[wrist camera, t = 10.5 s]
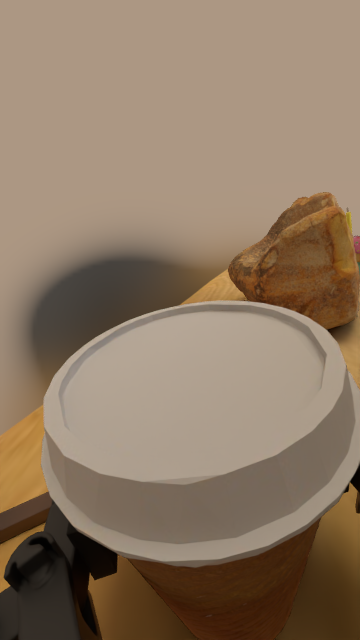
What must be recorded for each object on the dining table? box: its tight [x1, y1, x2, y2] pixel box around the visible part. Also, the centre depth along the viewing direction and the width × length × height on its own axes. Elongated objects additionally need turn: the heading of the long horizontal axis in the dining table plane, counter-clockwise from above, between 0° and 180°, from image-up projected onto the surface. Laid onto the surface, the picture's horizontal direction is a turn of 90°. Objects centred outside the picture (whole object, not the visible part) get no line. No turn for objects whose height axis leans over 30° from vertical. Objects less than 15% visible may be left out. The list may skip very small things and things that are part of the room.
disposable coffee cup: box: [41, 301, 360, 640], centre depth 10 cm, size 10×10×12 cm
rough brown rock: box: [228, 192, 360, 329], centre depth 36 cm, size 23×17×15 cm
